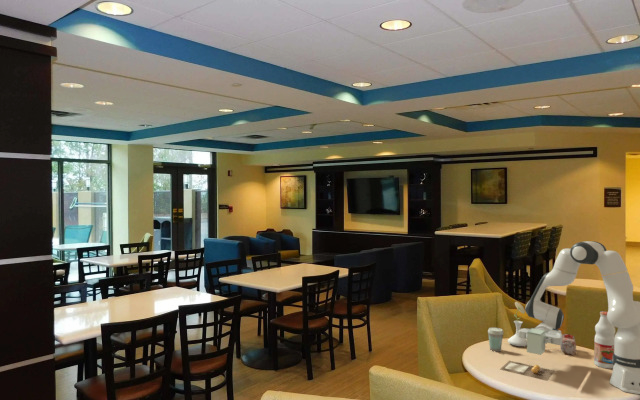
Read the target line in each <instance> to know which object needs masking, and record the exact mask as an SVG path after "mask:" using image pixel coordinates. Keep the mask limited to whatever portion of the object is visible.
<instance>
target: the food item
mask: <svg viewBox="0 0 640 400" xmlns="http://www.w3.org/2000/svg"><path fill="white" fill-rule="evenodd" d="M559 346H560V351H561V352H562V354H565V355H568V356H569V355H571V356H575V355H576V351H577V349H576V347H577V343H576V339H575V336H573V334H572V335H571V334H570V333H569V334H568V333H563V334H562V344H561V345H559Z"/></svg>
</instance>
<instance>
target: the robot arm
mask: <svg viewBox="0 0 640 400" xmlns="http://www.w3.org/2000/svg"><path fill="white" fill-rule="evenodd" d="M581 265H595V266H597V267H598V270H599V272H600V275H601V278H602V281H603V284H604V287H605V290H606V296H607V304H608V305H607V307H608V308H607V311H606V312H607V319H608V321H609V322H610V324H612V325H613V326H614V327H615V328H617V329H616V330H617V331H616V332H615V335H614V353H613V368H612V372H611V376H610V379H609V384H611V385H612V386H614V387H615V388H617V389H620V390H621V391H622V392H625V393H629V394H635V395H640V301H637V300H634V296H633V292H634V286H633V282H632V279H631V276H630V273H629V271H628V268H627V267H626V266H627V265H626V263H625V261H624V260H623V258H622V256H621V254H620V253H619V252H618V251H616V250H607V248H606V246H605V245H604V244H603V243H601V242H598V241H589V240H587V241H579V242H576V243H575V244H573V245H572V246H571V248H568V247H567V248H562V249H561V250H560V251H559V253H558V255H557V256H556V259H555V262H554V264H553V268H552V269H551V271H550V272H546V273H545V274H544V275H543V276H541V279H540V280H539V282H538V284H537V286H536V287H535V290H534V291H533V294H532V295H531V298H530V299H529V300H528V302H527V303H526V305H525V308H524V310H525V313H526V315H527V316H528V318H532V319H536V320H538V321H541V322H540V323H539V324H538V325H537V326H536V327H534V329H539V330H545V339H544V340H543V341H544V342H543V343H545V345H546V344H552V345H555V346H556V345H557V346H560V345H561V344H562V335H563V334H562V330H559V329H561V327H562V325H563V323H564V319H565V315H564V312H563V310H562V309H561V308H560V307H557V306H554V305H552V304H549V303H546V302H543V301H542V300H541V298H542V297H543V295H544V292H545V291H546V290H547V288H548V287H565V286H569V285H571V284H573V282H574V281H575V279H576V278H577V274H578V271H579V268H580V266H581ZM530 329H531V328H525V327H524V328H520V330H519V331H518V336H519V337H520V338H525V339H526V340H527V332H528V331H529V330H530Z"/></svg>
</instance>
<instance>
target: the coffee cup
mask: <svg viewBox="0 0 640 400" xmlns="http://www.w3.org/2000/svg"><path fill="white" fill-rule="evenodd" d="M504 333H505V332H504V329H502V328H499V327H488V330H487V334H488V342H489V343H488V344H489V350H490V351H491V350H492V352H494V351H495V353H499V352H501V351H502V345H503V337H504Z"/></svg>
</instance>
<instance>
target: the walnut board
mask: <svg viewBox="0 0 640 400" xmlns="http://www.w3.org/2000/svg"><path fill="white" fill-rule="evenodd" d="M533 367H534V365H530V364H527V363H521V362H517V361H512V360H508V361H507V362H506V363H505V364H503V365H502V366H501V367H500V368H499V370H501V371H505V372H508V373H513V374H517V375H521V376H525V377H529V378H534V379H537V380H538V379H539V380H542V381H548V382H549V379H550V378H551V377H552V376H553V374H554V373H555V370H553V369H549V368H545V367H544V368H543V367H540V370H539V371H538V373H533V372H532V370H531V369H532V368H533Z"/></svg>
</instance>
